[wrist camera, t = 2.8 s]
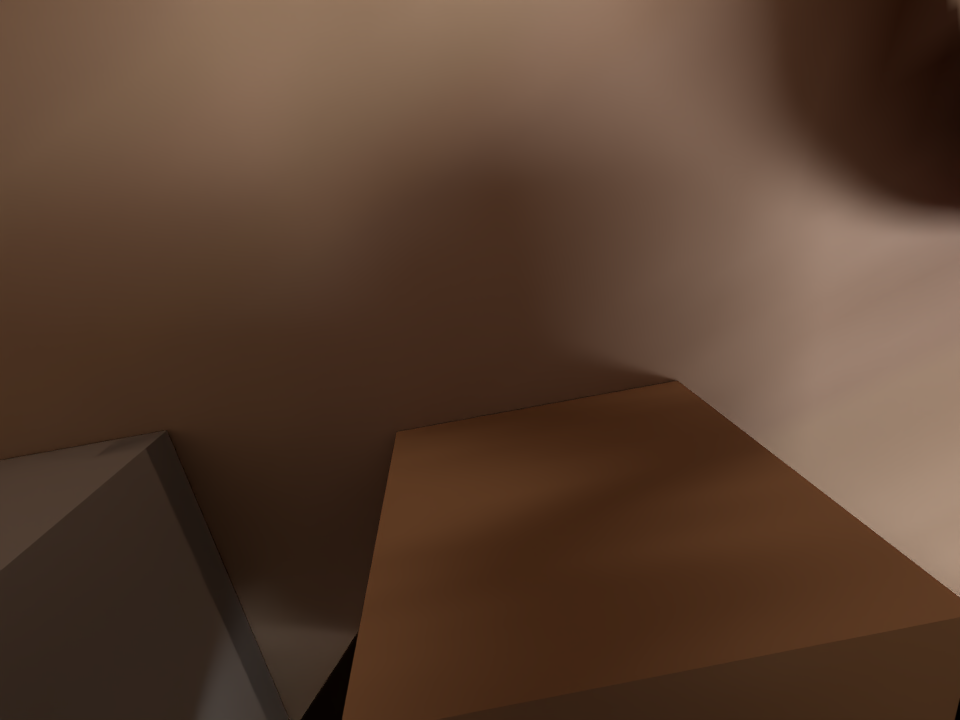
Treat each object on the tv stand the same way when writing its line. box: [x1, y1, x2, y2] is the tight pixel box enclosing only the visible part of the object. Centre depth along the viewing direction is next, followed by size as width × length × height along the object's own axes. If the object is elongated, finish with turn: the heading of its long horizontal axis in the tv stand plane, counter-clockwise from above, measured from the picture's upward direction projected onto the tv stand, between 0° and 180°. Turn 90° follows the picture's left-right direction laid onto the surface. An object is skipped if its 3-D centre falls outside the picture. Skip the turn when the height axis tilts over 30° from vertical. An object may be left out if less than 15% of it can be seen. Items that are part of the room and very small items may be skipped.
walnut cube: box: [342, 381, 960, 720], centre depth 7 cm, size 5×5×5 cm
